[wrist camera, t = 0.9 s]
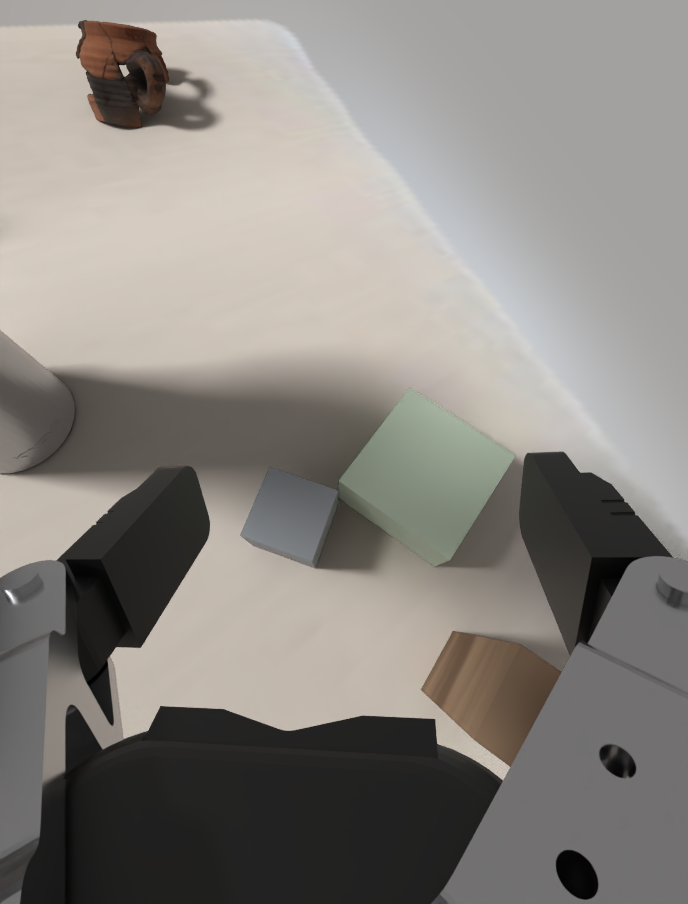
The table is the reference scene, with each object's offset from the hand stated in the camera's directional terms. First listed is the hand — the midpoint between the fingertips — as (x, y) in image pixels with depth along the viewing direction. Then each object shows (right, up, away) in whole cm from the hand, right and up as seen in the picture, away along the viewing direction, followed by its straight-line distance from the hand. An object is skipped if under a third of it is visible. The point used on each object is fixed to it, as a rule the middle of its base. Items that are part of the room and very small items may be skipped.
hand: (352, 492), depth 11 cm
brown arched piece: (-23, +40, +39) cm, 61 cm away
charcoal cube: (-4, -5, +23) cm, 24 cm away
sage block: (+6, -2, +24) cm, 25 cm away
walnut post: (+8, -15, +19) cm, 26 cm away
